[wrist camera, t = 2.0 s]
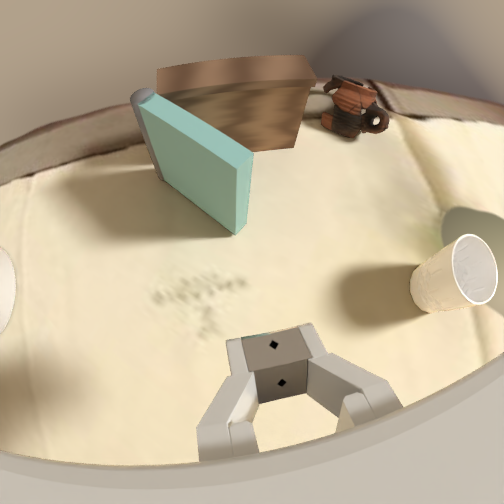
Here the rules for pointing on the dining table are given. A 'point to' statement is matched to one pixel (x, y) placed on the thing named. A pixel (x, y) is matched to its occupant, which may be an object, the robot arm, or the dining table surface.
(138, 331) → the dining table surface
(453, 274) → the white cup
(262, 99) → the wooden board
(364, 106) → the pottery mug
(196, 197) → the teal square slab
